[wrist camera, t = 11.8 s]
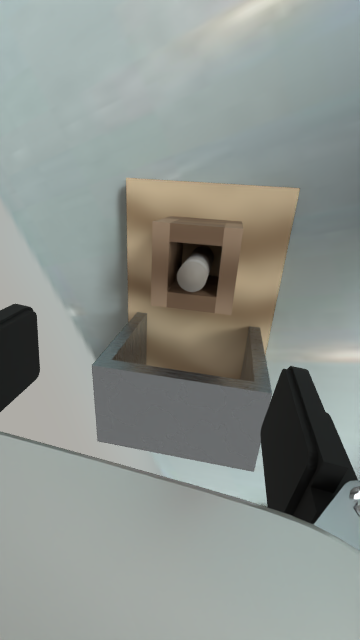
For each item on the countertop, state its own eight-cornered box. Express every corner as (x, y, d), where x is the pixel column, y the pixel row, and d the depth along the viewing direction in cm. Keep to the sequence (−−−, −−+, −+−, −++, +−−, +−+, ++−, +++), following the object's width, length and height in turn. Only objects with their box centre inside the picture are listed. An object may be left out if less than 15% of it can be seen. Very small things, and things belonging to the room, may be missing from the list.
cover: (137, 312, 29) (91, 365, 20) (260, 327, 27) (271, 393, 18) (137, 371, 32) (97, 441, 22) (248, 388, 30) (253, 471, 21)
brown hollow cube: (171, 216, 25) (152, 221, 19) (241, 221, 24) (243, 228, 18) (167, 283, 27) (150, 305, 22) (232, 290, 26) (231, 315, 21)
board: (132, 178, 25) (86, 171, 18) (296, 188, 23) (325, 185, 16) (133, 369, 34) (102, 420, 26) (255, 388, 32) (262, 450, 24)
